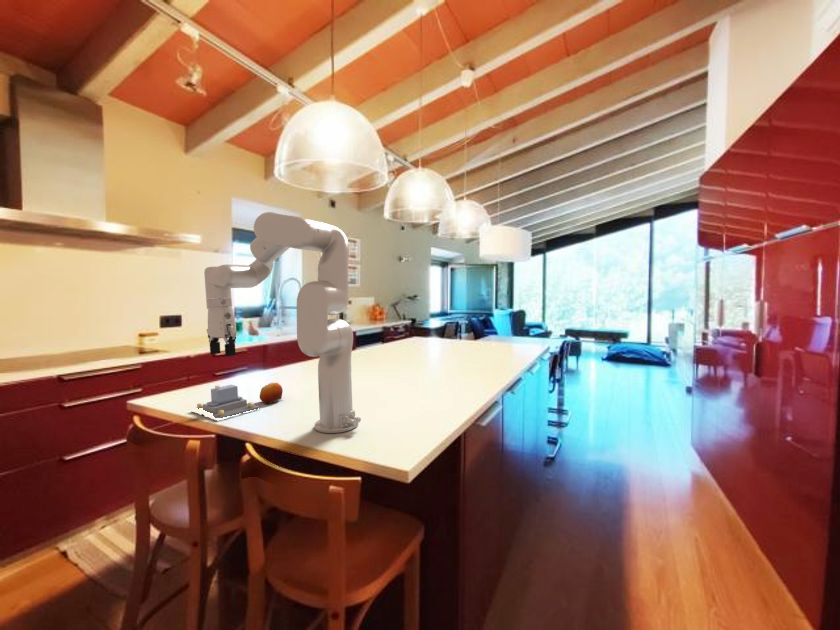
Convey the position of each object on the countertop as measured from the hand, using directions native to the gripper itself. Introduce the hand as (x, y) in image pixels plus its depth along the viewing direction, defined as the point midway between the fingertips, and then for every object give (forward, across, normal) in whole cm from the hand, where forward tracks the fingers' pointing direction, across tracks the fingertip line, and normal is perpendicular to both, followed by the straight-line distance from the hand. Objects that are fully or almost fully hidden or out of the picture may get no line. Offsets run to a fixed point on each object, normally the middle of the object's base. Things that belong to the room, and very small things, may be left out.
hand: (222, 354), depth 131 cm
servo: (+18, 0, 0) cm, 18 cm away
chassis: (+19, +1, 0) cm, 19 cm away
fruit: (+20, -3, -15) cm, 25 cm away
